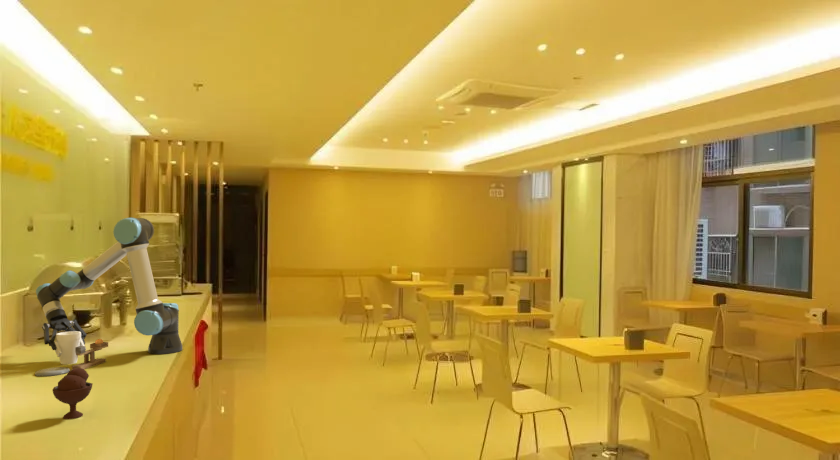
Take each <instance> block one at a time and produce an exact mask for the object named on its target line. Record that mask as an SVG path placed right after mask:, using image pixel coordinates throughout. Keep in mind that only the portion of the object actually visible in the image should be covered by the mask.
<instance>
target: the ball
mask: <svg viewBox="0 0 840 460" xmlns="http://www.w3.org/2000/svg"><path fill="white" fill-rule="evenodd" d="M103 342H104V340H103V339H101V338H97V339H96V340H95V341H94V343H95V344H102V343H103Z"/></svg>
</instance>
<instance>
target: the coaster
mask: <svg viewBox="0 0 840 460" xmlns="http://www.w3.org/2000/svg"><path fill="white" fill-rule="evenodd" d="M70 370H71V369H70V368H69V367H62V366H60V367H50V368H43V369H39V370H36V371H35V372H34V375H35V376H36V377H54V376H55V377H56V376H61V375H65V374H68V372H69V371H70Z"/></svg>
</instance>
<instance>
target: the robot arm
mask: <svg viewBox="0 0 840 460" xmlns="http://www.w3.org/2000/svg"><path fill="white" fill-rule="evenodd" d="M112 233H113V237H114V239H115V240H116V241H117V242H115V243H114V244H112V245H111V246H110V247H109V248H107V249H106V250H105V251H103V252H102V253H101V254H100V255H99V256H97V257H95V259H93V260H92V261H91V262H90V263H88V264H87V265H85V266H84V267H83V268H82V269H81V270H79V271H78V272H75V271H73V270H67V271H65V272H63V273H62V274H61V275H60V276H59V277H58V278H56V279H55V280H54V281H53V282H51V283H49V282H48V283H42V284H41V285H40V284H39V285H38V286H37V287H36V289H35V293H36V298H37V300H38V302H39V305H40V306H41V309H42V311H43V313H44V317H45V319H46V320H47V323H46V322H44V323H43V324H42V327H41V328H42V331H43V341H44V342H43V343H44V345H48V346H49V347H51V350H52V351H54V352H55V355H56V356H57V358H59V357H60V355H61V353H62V352H61V350H60V348H59V345H58V343H57V340H56V334H57V333H58V332H69V331H79V332H81V339H80V346H85V351H87V348H86V341H85V339H86V337H87V333H86V331H85V330H83V328H82V327H81V326H80V325H79V323H78V320H77V319H73V320H69V318H68V317H67V313H66V311H65V308H64V307H63V304H62V302H61V300H60V299H61V298H62V297H64V296H65V295H66V294H68V293H69V292H72V291H77V290H83V289H84V290H85V289H88V288H90V287H91V286H93V284H94V282H95V281H96V280H97V279H99V277H101V276H102V275H103V274H105V273H106V272H107V271H108V270H110V269H111V268H112V267H114V266H115V265H116V264H117V263H118V262H120V261H121V260H123V258H125V257H126V258H127V261H128V266H129V270H130V274H131V279H132V283H133V287H134V291H135V293H134V294H135V296H136V300H137V301H136V302H137V305H136V307H135V312H136V313H135V314H136V316H135V317H134V318H133V319H134V320H133V325H134V328H135V329H136V331H137V332H138V333H140V334H141V335H144V336H151V337H150V338H151V339H150V340H149V341H150V342H149V344H148V347H147V348H148V349H147V350H148V351H147V352H148V353H149V354H152V355H153V354H154V355H162V354H165V355H166V354H172V353H177V352H181V351H183V343H182V340H181V337H180V334H179V312H180V310H179V304H177V303H175V302H172V303H171V302H169V303H168V302H163V301H162V300H160V299H159V297H158V292H157V288H156V283H155V280H154V276H153V270H152V266H151V262H150V256H149V254H148V247H149V245H150V241H151V239H153V237H154V234H155V227H154V225H153V223H152V222H151V221H150V220H149V219H147V218H143V217H126V218H122V219H120V220H118V221H117V222H116V224H115V226H114V227H113V231H112ZM49 328H51V329H52V333H51V337H50V329H49Z"/></svg>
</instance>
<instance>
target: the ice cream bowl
mask: <svg viewBox="0 0 840 460" xmlns="http://www.w3.org/2000/svg"><path fill="white" fill-rule="evenodd" d="M89 377H90V375H89V373H88V371H87V370H86V369H82V368H74V369H72V368H71V369H70V371H69V372H68V373H66V375H64V376H63V377H62V378H61V379H60V380H59V381H58V382H57V385H56V386H54V387H53V388H52V394H53V397H54V398H55V399H56V400H57V401H59V402H61V403H63V404H66V405H68V406H69V411H68V412H67V413H65V414H64V415H63V417H62V419H63V420H73V419H79V418H81V416H82V417H83V415H84V413H83V412H81V411H78V410H77V404H78V403H81V402H82V401H84V400H85V399H86V398H87V397H88V396H89V394H90V393H91V390H92V389H93V384H94V383H92V382H88V381H87V380H88V379H89Z"/></svg>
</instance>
